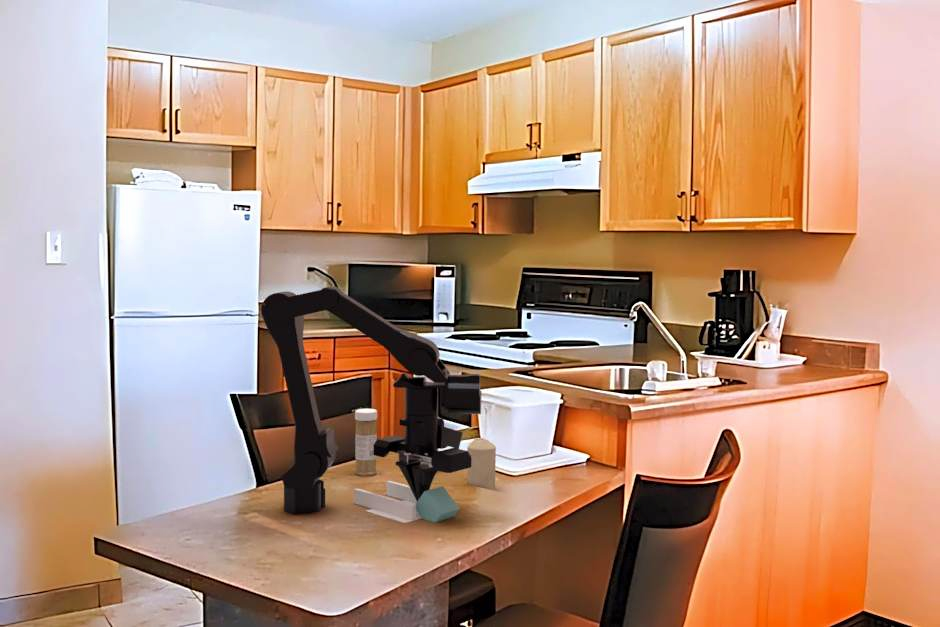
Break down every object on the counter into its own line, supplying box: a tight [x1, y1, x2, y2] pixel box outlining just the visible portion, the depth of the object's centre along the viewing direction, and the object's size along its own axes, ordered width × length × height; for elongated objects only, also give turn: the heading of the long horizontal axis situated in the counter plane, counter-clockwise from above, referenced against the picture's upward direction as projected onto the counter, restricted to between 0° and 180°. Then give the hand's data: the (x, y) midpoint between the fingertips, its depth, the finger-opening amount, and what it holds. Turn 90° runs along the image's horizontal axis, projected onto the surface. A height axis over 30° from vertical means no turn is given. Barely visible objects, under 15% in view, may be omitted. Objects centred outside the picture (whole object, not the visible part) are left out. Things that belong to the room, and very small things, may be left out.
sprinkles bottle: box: [354, 408, 378, 477], centre depth 190 cm, size 5×5×13 cm
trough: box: [353, 480, 422, 524], centre depth 161 cm, size 12×15×4 cm
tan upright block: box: [466, 437, 497, 492], centre depth 179 cm, size 6×6×10 cm
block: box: [415, 485, 460, 523], centre depth 155 cm, size 4×5×4 cm
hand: (421, 502), depth 158 cm, fingers closed
